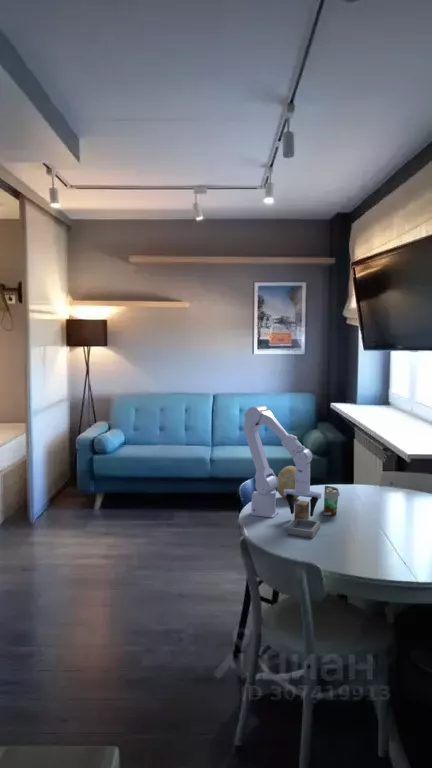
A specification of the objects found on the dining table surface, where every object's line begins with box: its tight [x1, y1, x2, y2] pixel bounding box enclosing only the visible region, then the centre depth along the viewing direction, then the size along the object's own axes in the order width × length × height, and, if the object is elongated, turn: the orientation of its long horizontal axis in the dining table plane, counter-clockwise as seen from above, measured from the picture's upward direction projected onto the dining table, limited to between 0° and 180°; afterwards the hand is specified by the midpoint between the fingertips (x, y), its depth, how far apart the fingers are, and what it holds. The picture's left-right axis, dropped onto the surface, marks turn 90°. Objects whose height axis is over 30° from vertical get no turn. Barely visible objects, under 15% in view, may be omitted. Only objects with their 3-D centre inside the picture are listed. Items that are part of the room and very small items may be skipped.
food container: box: [323, 485, 341, 518], centre depth 233 cm, size 12×6×10 cm, turn 168°
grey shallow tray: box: [287, 519, 321, 539], centre depth 211 cm, size 9×12×2 cm
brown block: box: [293, 500, 310, 522], centre depth 224 cm, size 4×7×7 cm, turn 157°
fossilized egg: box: [276, 465, 300, 500], centre depth 253 cm, size 13×13×15 cm
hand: (301, 514), depth 224 cm, fingers open, 7 cm apart
